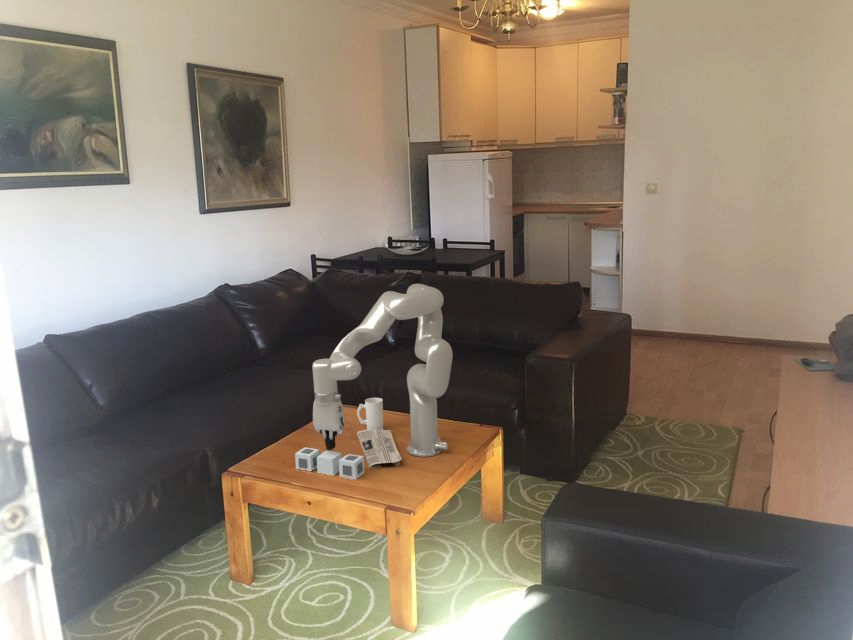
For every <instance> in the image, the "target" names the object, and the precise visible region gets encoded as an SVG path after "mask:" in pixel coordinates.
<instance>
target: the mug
mask: <svg viewBox="0 0 853 640" xmlns="http://www.w3.org/2000/svg"><path fill="white" fill-rule="evenodd" d="M383 401H384V400H383V398H380V397H369V398H366V399H365V400H364V402H365V403H364V404H363V403H359V405H358V407H357V411H356V416H357V418H358V421H359V422H360V424H361V425H366V430H369V429H384V407H383V406H384V403H383ZM362 409H365V419H363V418H362V417H361V410H362Z"/></svg>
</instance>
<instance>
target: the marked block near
mask: <svg viewBox="0 0 853 640" xmlns="http://www.w3.org/2000/svg"><path fill="white" fill-rule="evenodd" d="M364 456H365V455H357V454H352V453H347V454H346V455H344V456H342V458H341V459H340V460H339V472H338V473H339V478H341V477H345V478H344V479H347V478H350V479H349V480H353V479H355V480H354V481H357V480H358V479H359V478H360V477H361V476H363V475H364V474H365V460H364V459H365V457H364ZM357 478H358V479H357Z"/></svg>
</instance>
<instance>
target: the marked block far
mask: <svg viewBox="0 0 853 640" xmlns="http://www.w3.org/2000/svg"><path fill="white" fill-rule="evenodd" d="M320 451H321V450H320V449H317V448H311V447H306V446H305V447H303V448H301V449H300V450H298V451H297V452H295V454H294V459H295V470H296V469H301V470H307V471H312V470H314V469H316V468H317V456H319V455H320V454H321V452H320ZM316 470H317V469H316ZM314 471H315V470H314Z"/></svg>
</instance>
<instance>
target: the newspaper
mask: <svg viewBox="0 0 853 640" xmlns="http://www.w3.org/2000/svg"><path fill="white" fill-rule="evenodd" d="M356 435H357V438H358V440H359V441H358V442H359V444H360V446H361V449H362V451H363V454H364V456H365V457H364V458H365V459H366V462H367V465H368V467H369V469H370V470H373V469H378V468H382V465H381V464H390V463H392V464H393V466H395V467H399V465H401V464H400V463H401V462H400V461H402V456H401V454H400V453H399V450H398V448H397V445H396V443H395V441H394V437H393V434H392V431H391V429H385V428H383V429H369V430H367V429H364V430H363V429H362V430H358V432H356Z"/></svg>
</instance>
